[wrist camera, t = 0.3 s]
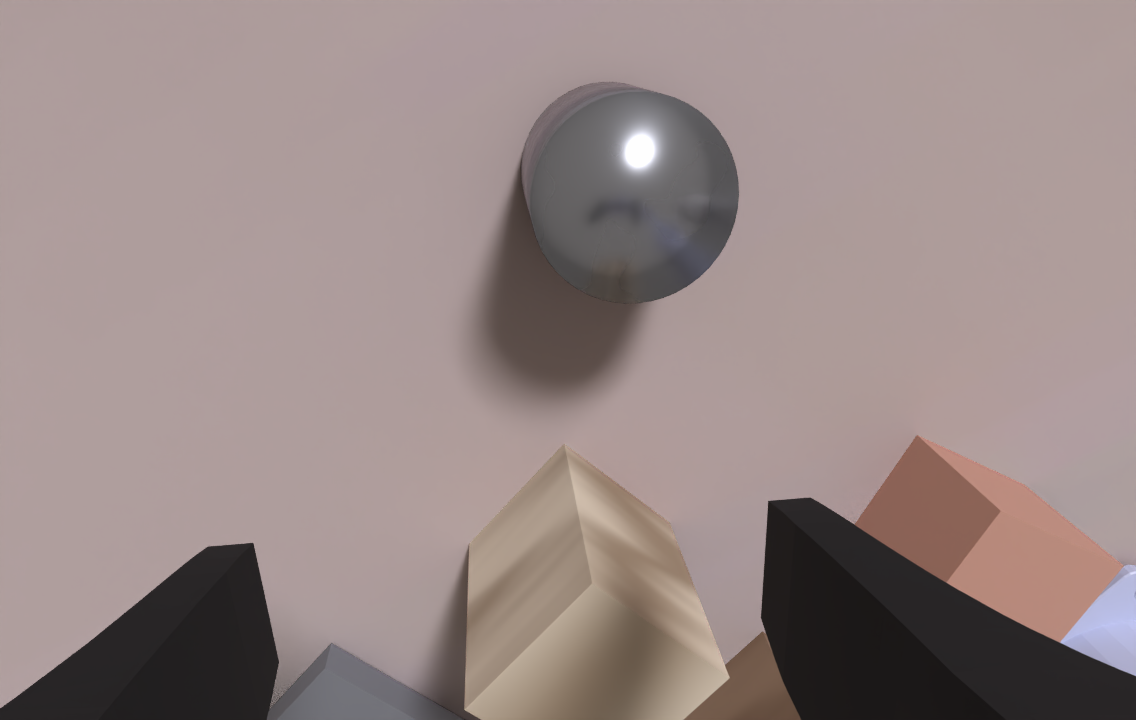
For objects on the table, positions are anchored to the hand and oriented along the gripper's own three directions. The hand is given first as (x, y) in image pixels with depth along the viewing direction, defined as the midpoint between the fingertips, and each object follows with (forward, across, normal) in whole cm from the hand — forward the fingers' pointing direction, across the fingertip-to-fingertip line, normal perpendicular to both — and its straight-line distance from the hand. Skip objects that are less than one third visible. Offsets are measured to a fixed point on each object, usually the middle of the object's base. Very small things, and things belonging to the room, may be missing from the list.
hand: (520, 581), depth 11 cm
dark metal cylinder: (+10, -3, -4) cm, 11 cm away
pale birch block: (+10, -1, +6) cm, 11 cm away
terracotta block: (+10, -12, +6) cm, 17 cm away
